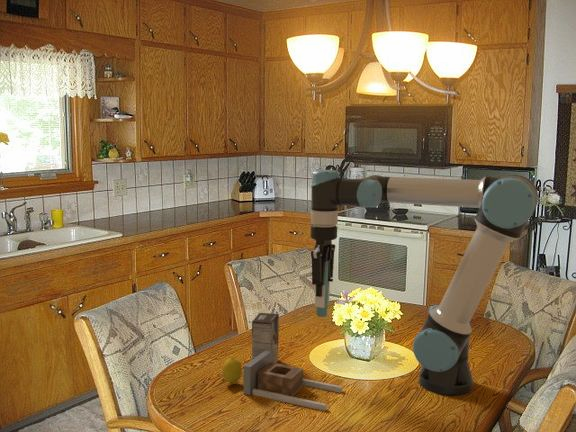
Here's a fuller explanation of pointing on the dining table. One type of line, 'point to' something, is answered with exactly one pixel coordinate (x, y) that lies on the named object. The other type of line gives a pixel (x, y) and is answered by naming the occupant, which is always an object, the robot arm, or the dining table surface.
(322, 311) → the dowel
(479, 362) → the dining table surface
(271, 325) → the coffee box
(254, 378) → the slide base
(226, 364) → the lemon
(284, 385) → the socket block
